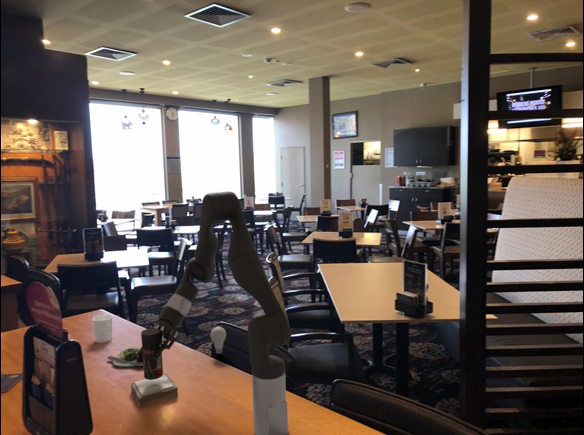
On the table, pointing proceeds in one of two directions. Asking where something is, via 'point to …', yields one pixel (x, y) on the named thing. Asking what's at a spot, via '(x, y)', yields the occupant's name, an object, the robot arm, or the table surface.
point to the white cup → (102, 328)
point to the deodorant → (149, 344)
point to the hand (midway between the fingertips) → (147, 356)
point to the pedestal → (154, 390)
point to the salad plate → (128, 358)
